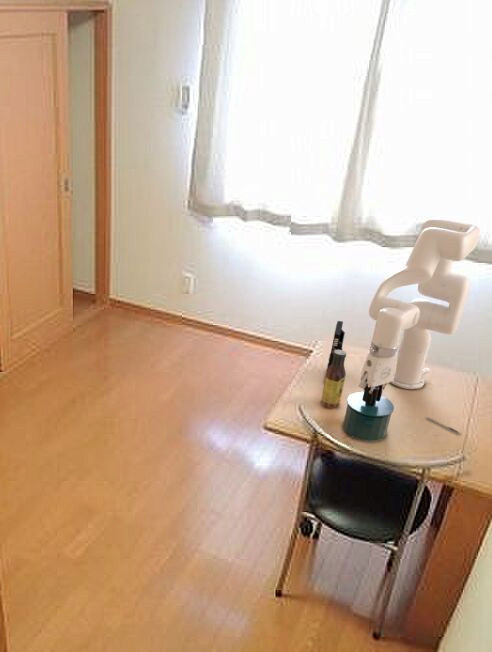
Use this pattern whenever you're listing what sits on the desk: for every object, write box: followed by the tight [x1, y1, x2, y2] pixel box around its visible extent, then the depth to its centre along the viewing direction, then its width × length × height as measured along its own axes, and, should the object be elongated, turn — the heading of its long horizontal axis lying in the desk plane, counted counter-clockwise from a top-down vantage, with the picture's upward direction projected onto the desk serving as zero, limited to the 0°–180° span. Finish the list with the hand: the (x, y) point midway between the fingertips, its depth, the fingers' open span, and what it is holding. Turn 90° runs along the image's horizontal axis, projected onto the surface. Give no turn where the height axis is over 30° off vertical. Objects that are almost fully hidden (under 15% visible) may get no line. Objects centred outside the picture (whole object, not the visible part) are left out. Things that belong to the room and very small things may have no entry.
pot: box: [342, 404, 392, 442], centre depth 208 cm, size 13×19×9 cm
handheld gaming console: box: [325, 320, 346, 376], centre depth 234 cm, size 12×5×20 cm, turn 160°
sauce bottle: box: [321, 349, 347, 409], centre depth 218 cm, size 7×6×20 cm
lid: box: [346, 385, 395, 417], centre depth 204 cm, size 14×14×7 cm
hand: (371, 400), depth 204 cm, fingers closed on lid, 3 cm apart
